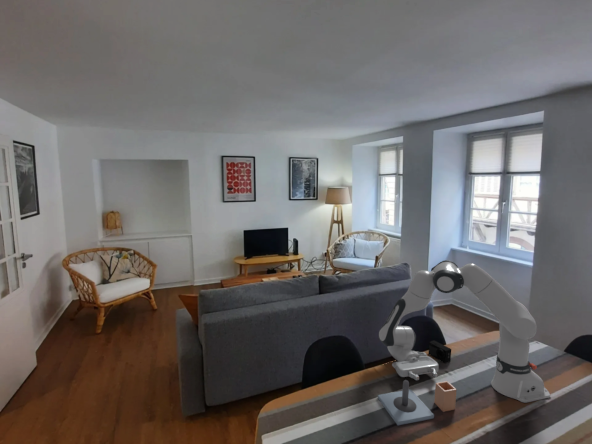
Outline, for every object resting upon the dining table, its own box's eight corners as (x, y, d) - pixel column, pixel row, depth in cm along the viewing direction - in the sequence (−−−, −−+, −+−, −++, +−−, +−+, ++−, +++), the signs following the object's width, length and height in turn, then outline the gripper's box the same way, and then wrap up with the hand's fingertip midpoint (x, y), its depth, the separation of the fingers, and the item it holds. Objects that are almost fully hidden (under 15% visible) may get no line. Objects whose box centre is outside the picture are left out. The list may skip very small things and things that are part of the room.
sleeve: (445, 400, 141) (447, 381, 139) (454, 409, 135) (456, 389, 134) (434, 402, 139) (435, 383, 138) (443, 411, 134) (444, 391, 133)
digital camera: (426, 354, 176) (427, 342, 175) (433, 352, 179) (434, 339, 178) (443, 364, 167) (444, 351, 166) (450, 361, 170) (451, 348, 169)
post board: (410, 392, 146) (412, 366, 144) (433, 418, 130) (435, 389, 129) (377, 398, 142) (378, 371, 140) (397, 425, 127) (399, 396, 125)
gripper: (390, 357, 158) (406, 374, 145) (427, 351, 163) (446, 367, 150) (390, 369, 159) (406, 387, 146) (427, 363, 164) (445, 380, 151)
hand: (427, 377), depth 148 cm, fingers open, 8 cm apart
